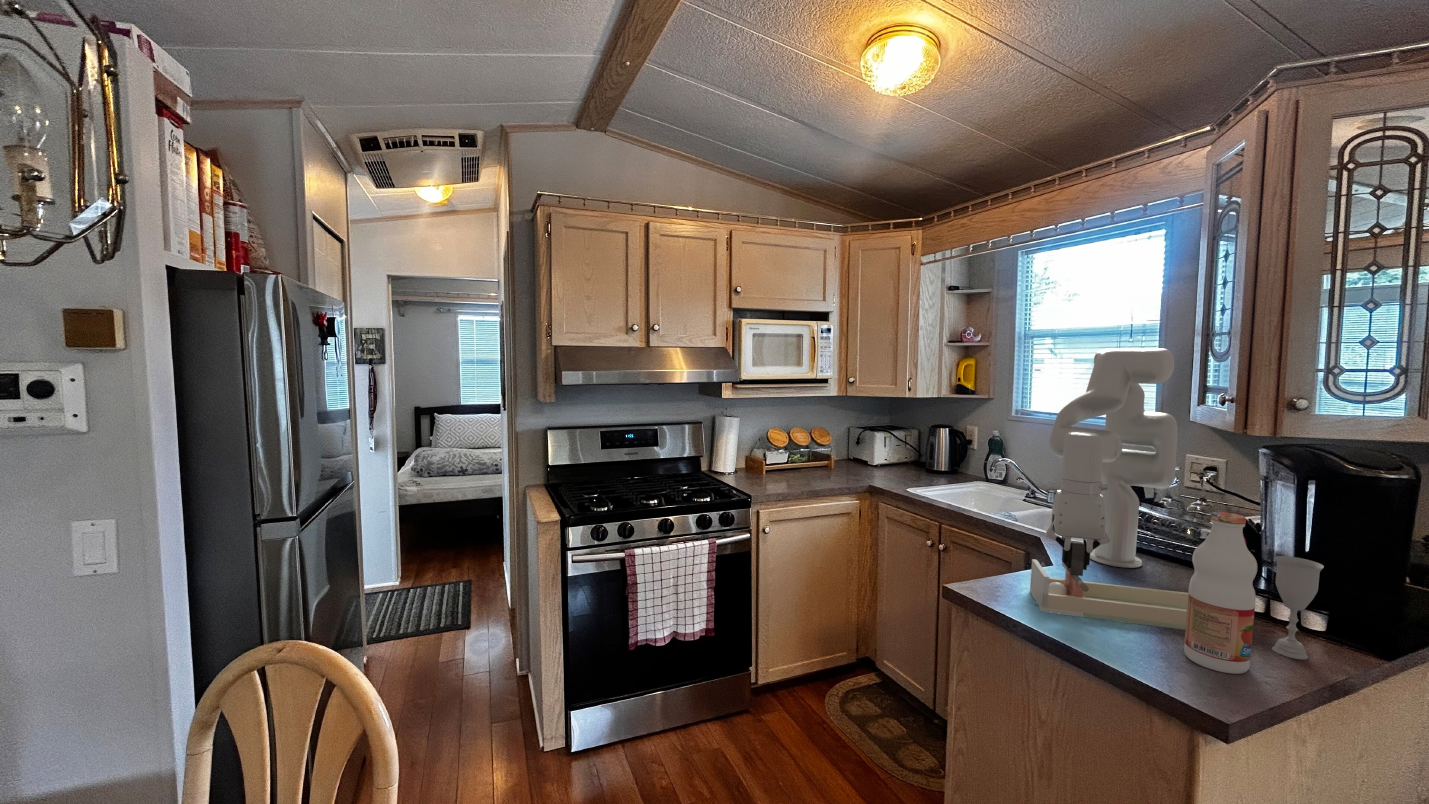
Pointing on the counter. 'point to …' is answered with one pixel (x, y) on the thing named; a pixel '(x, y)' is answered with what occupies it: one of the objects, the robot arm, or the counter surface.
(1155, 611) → the cream long tray
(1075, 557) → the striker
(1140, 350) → the robot arm
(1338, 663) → the counter surface
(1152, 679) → the counter surface
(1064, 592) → the ball
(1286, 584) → the chalice
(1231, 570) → the fruit juice
